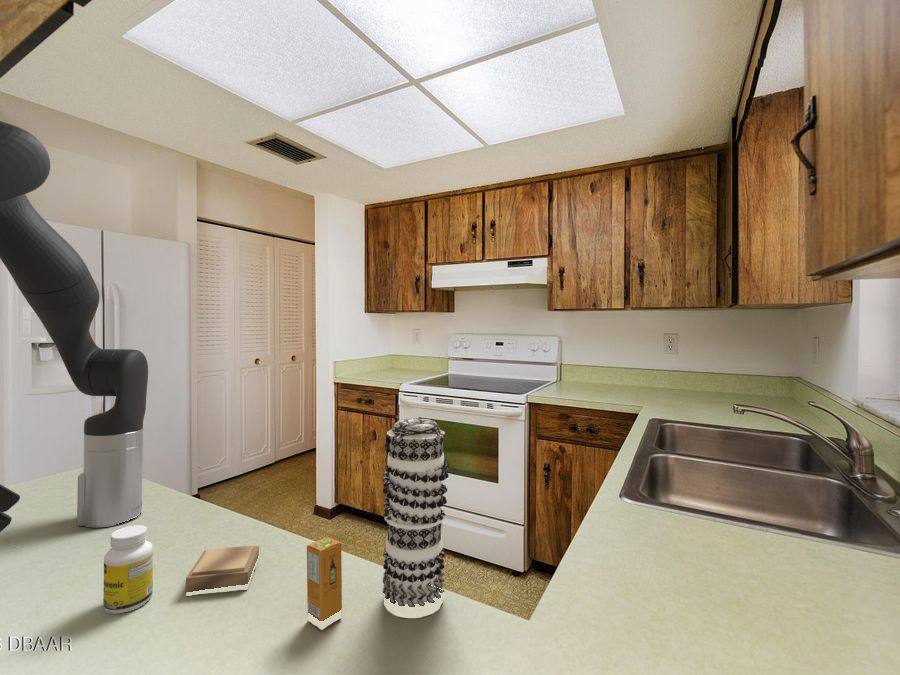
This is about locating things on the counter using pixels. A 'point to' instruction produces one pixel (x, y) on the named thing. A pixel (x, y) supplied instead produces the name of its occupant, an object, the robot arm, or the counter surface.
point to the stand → (222, 568)
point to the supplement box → (324, 578)
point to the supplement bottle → (128, 570)
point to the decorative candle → (414, 512)
